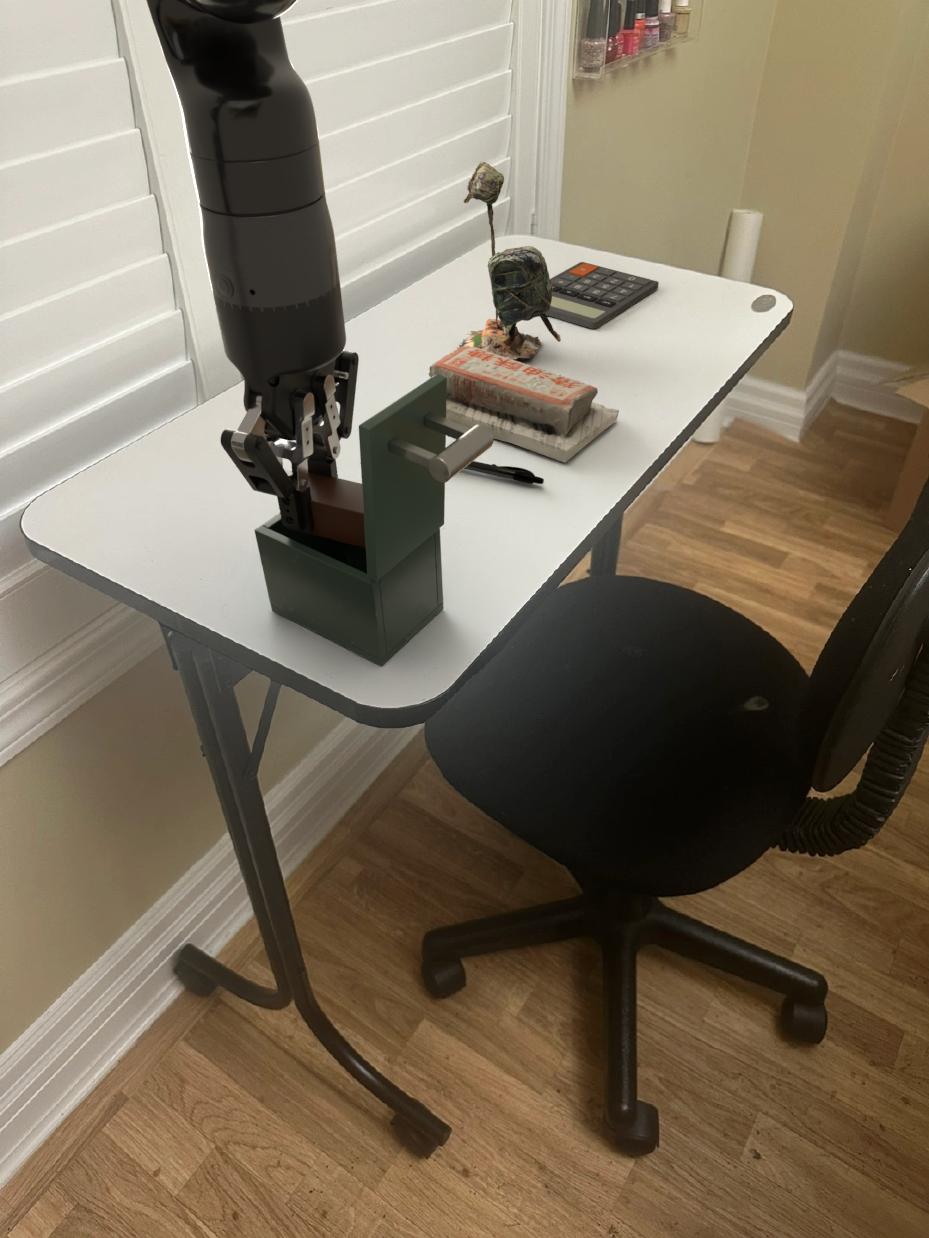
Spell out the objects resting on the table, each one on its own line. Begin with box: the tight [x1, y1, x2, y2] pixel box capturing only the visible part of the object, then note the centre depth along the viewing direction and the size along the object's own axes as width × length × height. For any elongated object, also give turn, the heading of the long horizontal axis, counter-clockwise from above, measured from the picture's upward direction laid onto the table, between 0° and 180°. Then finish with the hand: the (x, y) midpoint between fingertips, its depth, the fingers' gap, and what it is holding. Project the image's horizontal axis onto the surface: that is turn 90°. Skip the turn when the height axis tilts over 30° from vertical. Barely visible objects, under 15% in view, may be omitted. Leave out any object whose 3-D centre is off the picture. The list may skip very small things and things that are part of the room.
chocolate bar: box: [308, 472, 366, 548], centre depth 63 cm, size 3×8×3 cm, turn 67°
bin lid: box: [358, 374, 494, 581], centre depth 57 cm, size 12×8×5 cm
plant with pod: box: [456, 161, 562, 360], centre depth 95 cm, size 8×11×20 cm
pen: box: [463, 460, 545, 485], centre depth 83 cm, size 14×2×1 cm, turn 66°
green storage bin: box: [254, 512, 444, 667], centre depth 67 cm, size 11×8×8 cm
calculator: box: [545, 261, 660, 330], centre depth 112 cm, size 12×1×15 cm
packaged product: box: [428, 346, 620, 464], centre depth 89 cm, size 18×5×10 cm
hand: (313, 514), depth 65 cm, fingers closed on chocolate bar, 3 cm apart
